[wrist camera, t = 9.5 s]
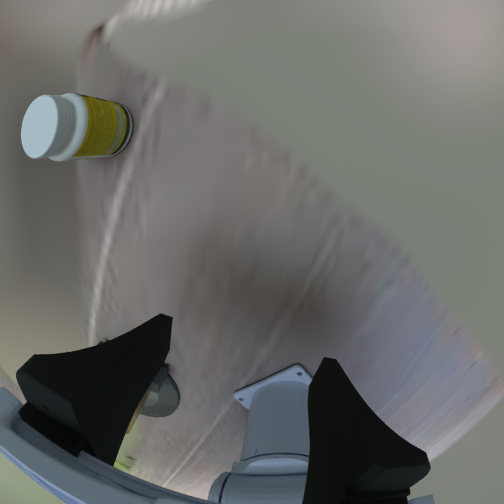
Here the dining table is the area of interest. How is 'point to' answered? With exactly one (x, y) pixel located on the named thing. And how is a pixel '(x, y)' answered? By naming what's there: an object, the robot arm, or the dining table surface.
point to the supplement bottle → (75, 127)
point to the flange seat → (161, 395)
